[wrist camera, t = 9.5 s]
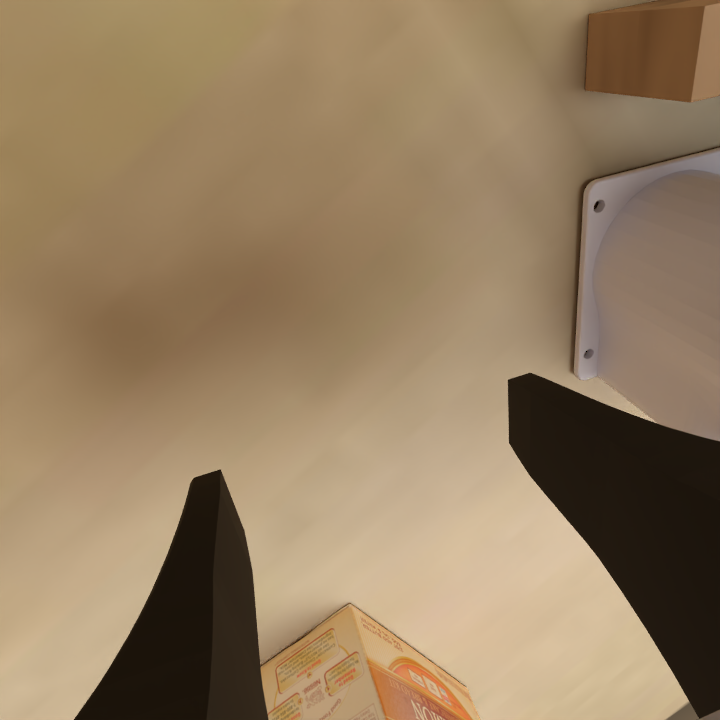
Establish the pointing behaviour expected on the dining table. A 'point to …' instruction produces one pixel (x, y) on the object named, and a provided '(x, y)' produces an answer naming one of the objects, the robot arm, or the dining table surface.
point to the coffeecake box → (359, 677)
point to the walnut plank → (656, 50)
